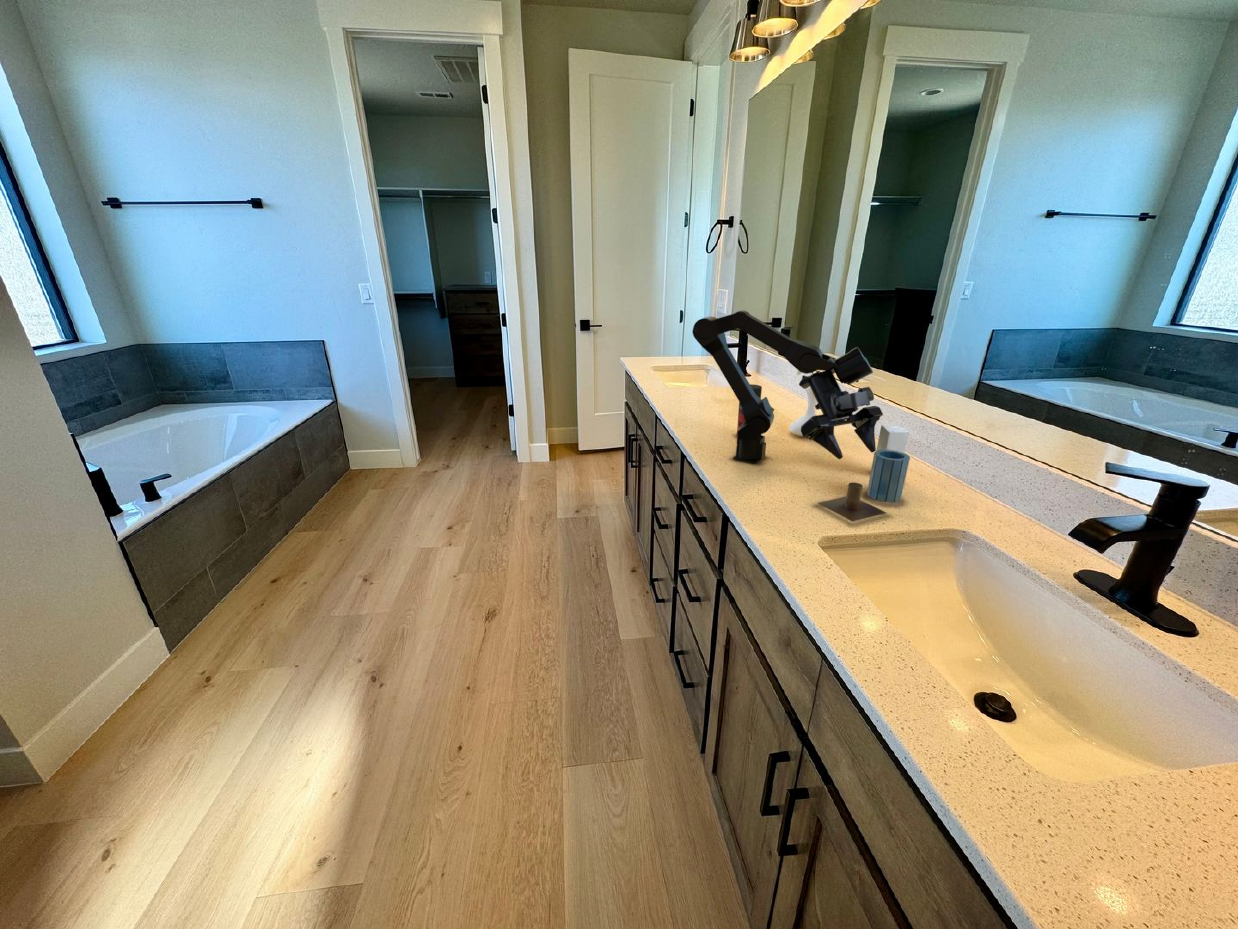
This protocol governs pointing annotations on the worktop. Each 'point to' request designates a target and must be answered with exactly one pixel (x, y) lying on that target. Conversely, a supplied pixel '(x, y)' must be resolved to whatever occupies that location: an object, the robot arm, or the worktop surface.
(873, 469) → the blue slatted cup
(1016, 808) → the worktop surface
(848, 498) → the walnut stand
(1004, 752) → the worktop surface
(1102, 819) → the worktop surface
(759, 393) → the deodorant
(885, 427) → the cosmetic box
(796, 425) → the flower in vase
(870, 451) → the robot arm
